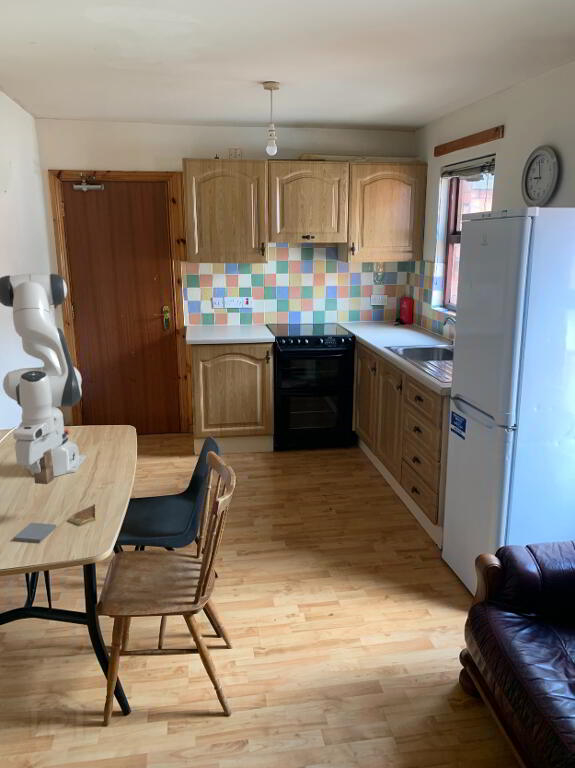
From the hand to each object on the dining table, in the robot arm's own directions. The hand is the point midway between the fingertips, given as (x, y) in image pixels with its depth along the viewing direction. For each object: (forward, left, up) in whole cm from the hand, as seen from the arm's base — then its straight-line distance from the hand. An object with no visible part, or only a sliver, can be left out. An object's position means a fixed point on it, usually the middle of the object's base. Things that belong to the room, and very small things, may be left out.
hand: (43, 468), depth 179 cm
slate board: (+8, +3, -15) cm, 17 cm away
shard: (0, +11, -16) cm, 20 cm away
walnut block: (0, 0, -4) cm, 4 cm away
